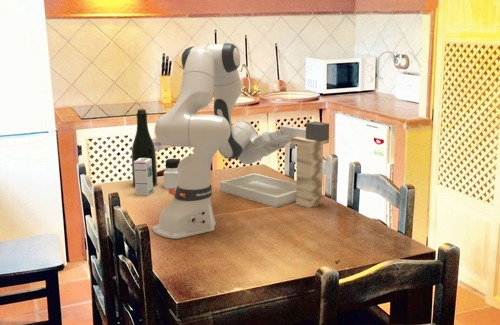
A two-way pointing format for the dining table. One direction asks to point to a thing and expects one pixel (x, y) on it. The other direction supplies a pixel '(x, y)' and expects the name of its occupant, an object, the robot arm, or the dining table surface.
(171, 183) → the medicine bottle
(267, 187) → the tray
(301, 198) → the ribbed beige tower
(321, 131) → the grey mallet
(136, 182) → the syrup box
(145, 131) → the wine bottle
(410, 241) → the dining table surface
